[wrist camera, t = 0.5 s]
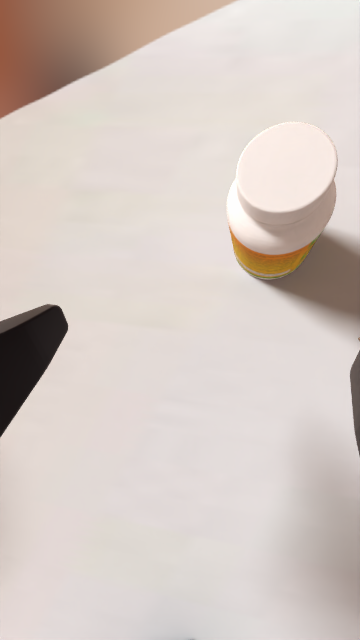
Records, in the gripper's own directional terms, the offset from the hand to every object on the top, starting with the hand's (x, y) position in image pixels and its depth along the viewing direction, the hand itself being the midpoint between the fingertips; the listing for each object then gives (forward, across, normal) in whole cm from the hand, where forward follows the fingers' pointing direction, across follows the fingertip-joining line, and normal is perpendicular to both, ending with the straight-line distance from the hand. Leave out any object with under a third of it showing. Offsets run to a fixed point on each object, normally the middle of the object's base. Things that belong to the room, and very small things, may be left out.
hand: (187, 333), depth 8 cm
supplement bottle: (+15, -2, +3) cm, 15 cm away
